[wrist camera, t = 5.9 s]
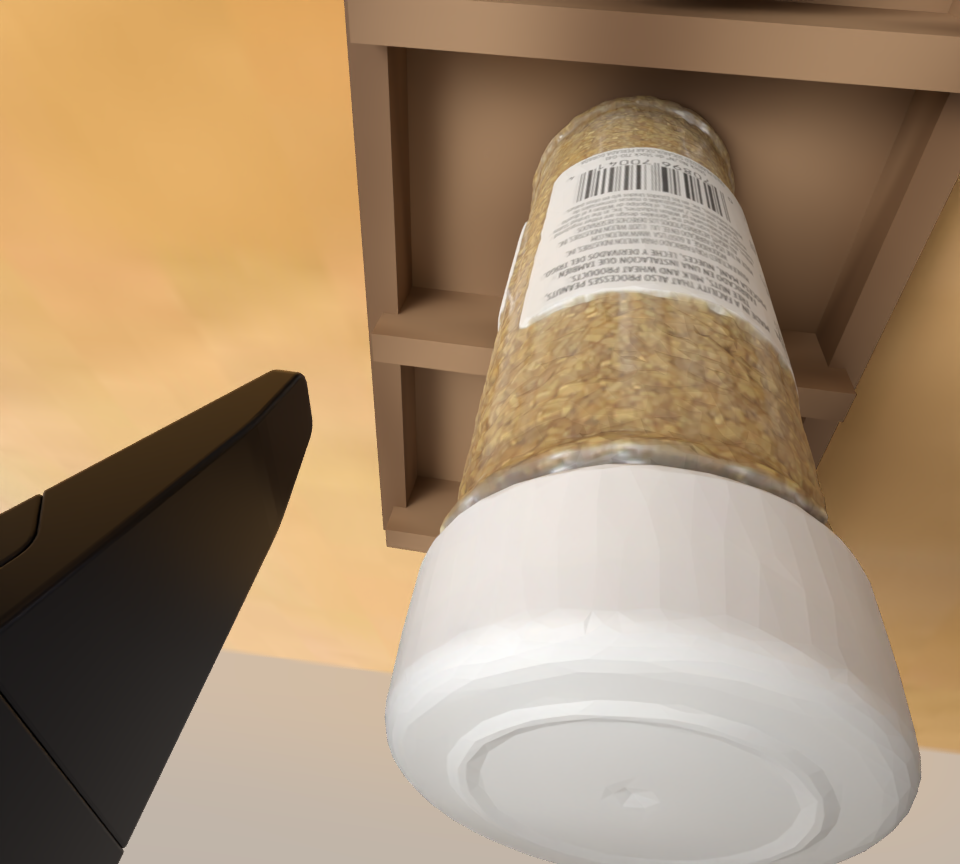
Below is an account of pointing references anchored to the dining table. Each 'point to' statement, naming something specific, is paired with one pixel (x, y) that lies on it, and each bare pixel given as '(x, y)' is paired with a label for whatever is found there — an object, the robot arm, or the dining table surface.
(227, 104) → the dining table surface
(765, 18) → the rack
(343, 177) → the dining table surface
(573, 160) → the sprinkles bottle
